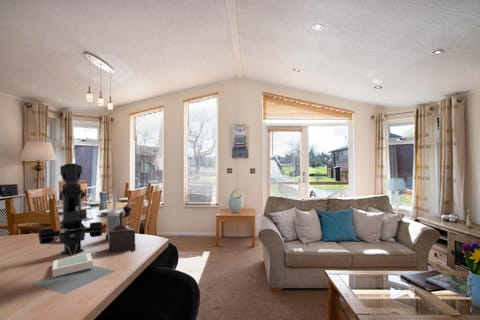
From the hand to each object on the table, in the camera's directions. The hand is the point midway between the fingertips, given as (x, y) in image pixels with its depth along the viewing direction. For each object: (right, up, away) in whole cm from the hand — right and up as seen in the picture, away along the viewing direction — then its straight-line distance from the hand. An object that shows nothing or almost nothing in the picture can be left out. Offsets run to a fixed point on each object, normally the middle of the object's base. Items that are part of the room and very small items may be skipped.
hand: (72, 254), depth 91 cm
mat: (0, -9, +1) cm, 9 cm away
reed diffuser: (-8, -9, +48) cm, 50 cm away
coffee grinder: (+2, -9, +34) cm, 35 cm away
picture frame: (-2, -6, +4) cm, 8 cm away
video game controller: (-31, -9, +45) cm, 55 cm away
